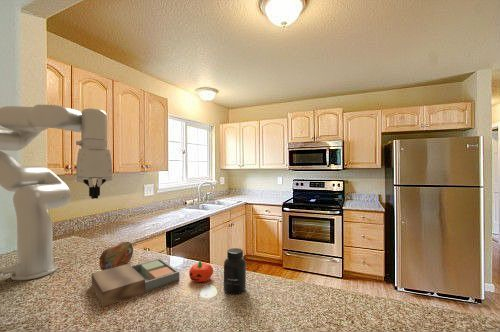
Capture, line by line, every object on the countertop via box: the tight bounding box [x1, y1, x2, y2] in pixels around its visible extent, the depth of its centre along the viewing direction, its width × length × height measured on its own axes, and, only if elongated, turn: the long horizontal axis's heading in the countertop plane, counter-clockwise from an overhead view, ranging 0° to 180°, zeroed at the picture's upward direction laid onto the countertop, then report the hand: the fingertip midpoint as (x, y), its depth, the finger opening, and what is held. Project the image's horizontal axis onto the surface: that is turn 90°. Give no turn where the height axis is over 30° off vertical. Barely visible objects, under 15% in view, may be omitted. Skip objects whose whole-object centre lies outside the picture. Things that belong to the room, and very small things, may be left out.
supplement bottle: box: [223, 247, 247, 295], centre depth 74 cm, size 7×7×12 cm
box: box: [131, 258, 180, 293], centre depth 82 cm, size 11×16×3 cm
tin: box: [99, 241, 134, 271], centre depth 92 cm, size 15×3×8 cm, turn 169°
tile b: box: [140, 260, 164, 277], centre depth 86 cm, size 6×6×2 cm
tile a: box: [149, 267, 174, 280], centre depth 80 cm, size 6×6×2 cm
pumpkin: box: [188, 260, 214, 283], centre depth 81 cm, size 7×8×6 cm
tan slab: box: [91, 263, 146, 308], centre depth 75 cm, size 11×16×4 cm
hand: (94, 198), depth 84 cm, fingers closed
